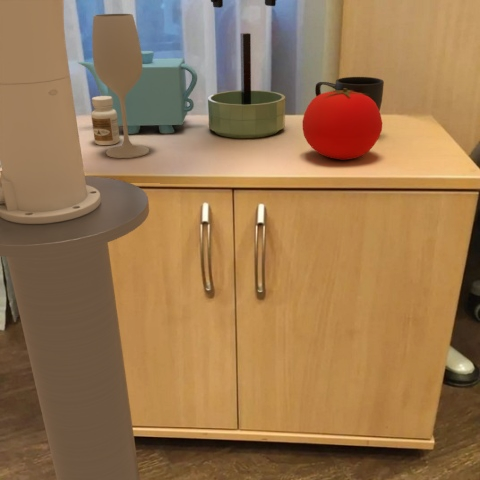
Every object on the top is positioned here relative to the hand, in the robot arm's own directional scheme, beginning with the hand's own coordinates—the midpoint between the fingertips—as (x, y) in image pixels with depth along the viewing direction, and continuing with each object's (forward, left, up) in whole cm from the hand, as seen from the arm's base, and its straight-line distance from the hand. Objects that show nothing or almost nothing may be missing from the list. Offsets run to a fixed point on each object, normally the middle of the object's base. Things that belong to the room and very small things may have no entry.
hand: (244, 6), depth 103 cm
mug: (+15, -11, -21) cm, 28 cm away
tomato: (+7, -23, -21) cm, 32 cm away
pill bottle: (-26, +2, -21) cm, 34 cm away
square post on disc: (0, 0, -20) cm, 20 cm away
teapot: (-17, +11, -21) cm, 29 cm away
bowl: (0, 0, -21) cm, 21 cm away
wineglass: (-24, -6, -21) cm, 32 cm away
